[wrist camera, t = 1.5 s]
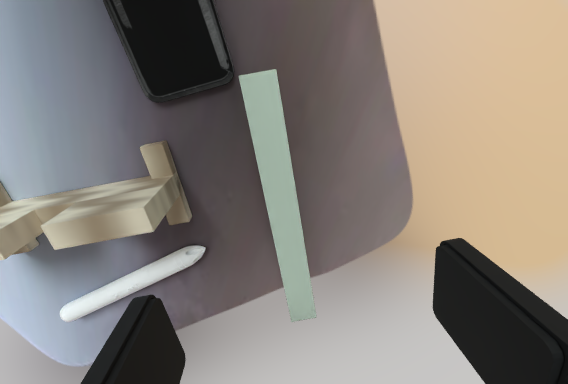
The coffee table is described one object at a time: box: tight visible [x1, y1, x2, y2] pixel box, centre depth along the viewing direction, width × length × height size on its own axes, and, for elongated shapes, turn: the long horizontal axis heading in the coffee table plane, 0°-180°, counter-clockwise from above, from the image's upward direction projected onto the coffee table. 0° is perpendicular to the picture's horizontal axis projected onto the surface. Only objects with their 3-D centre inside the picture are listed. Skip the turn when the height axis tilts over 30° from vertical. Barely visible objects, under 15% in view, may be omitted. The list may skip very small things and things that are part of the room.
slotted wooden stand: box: [0, 141, 192, 260], centre depth 23 cm, size 18×8×8 cm, turn 99°
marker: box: [60, 246, 206, 322], centre depth 29 cm, size 18×2×2 cm, turn 116°
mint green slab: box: [239, 69, 316, 322], centre depth 22 cm, size 18×2×10 cm, turn 9°
